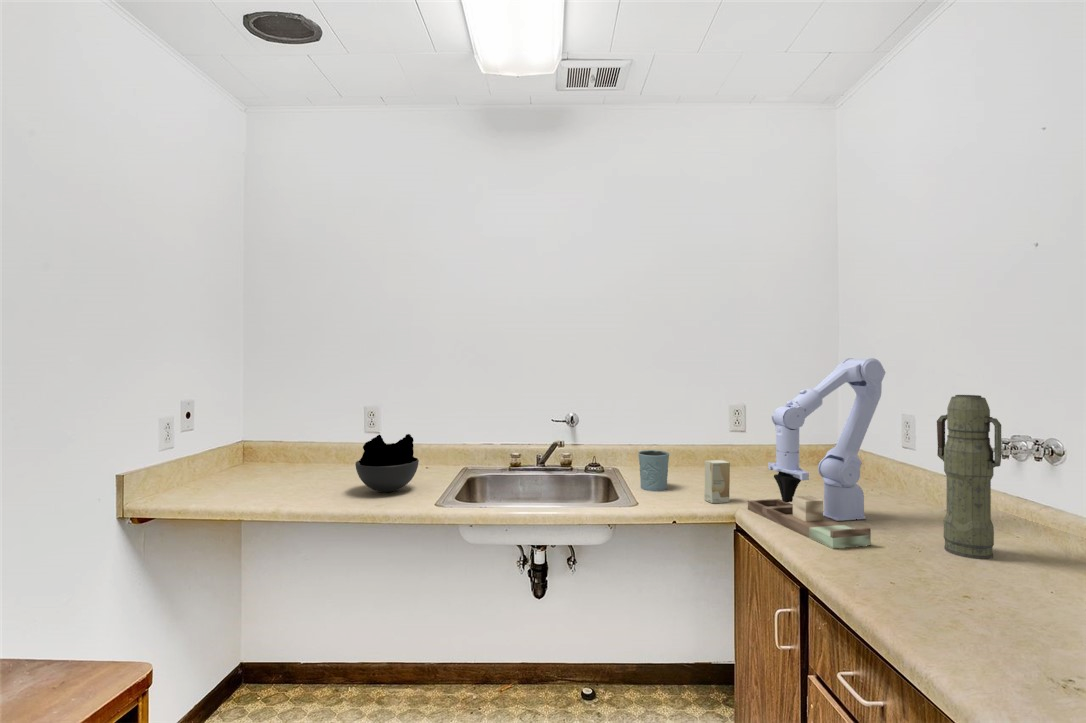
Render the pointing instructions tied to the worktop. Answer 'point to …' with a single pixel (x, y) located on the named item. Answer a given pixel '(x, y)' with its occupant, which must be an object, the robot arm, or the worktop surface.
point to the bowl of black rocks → (387, 464)
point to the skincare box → (717, 481)
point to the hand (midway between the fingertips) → (787, 501)
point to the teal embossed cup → (653, 470)
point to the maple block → (808, 508)
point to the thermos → (968, 475)
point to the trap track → (811, 525)
